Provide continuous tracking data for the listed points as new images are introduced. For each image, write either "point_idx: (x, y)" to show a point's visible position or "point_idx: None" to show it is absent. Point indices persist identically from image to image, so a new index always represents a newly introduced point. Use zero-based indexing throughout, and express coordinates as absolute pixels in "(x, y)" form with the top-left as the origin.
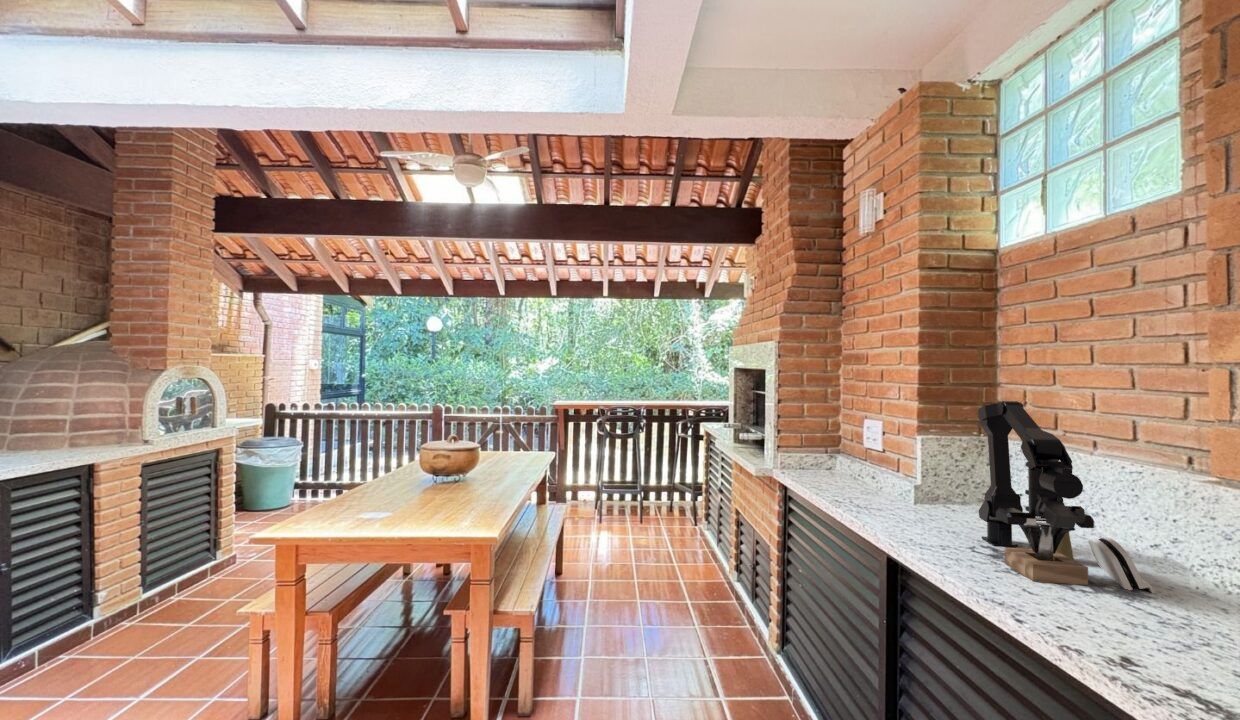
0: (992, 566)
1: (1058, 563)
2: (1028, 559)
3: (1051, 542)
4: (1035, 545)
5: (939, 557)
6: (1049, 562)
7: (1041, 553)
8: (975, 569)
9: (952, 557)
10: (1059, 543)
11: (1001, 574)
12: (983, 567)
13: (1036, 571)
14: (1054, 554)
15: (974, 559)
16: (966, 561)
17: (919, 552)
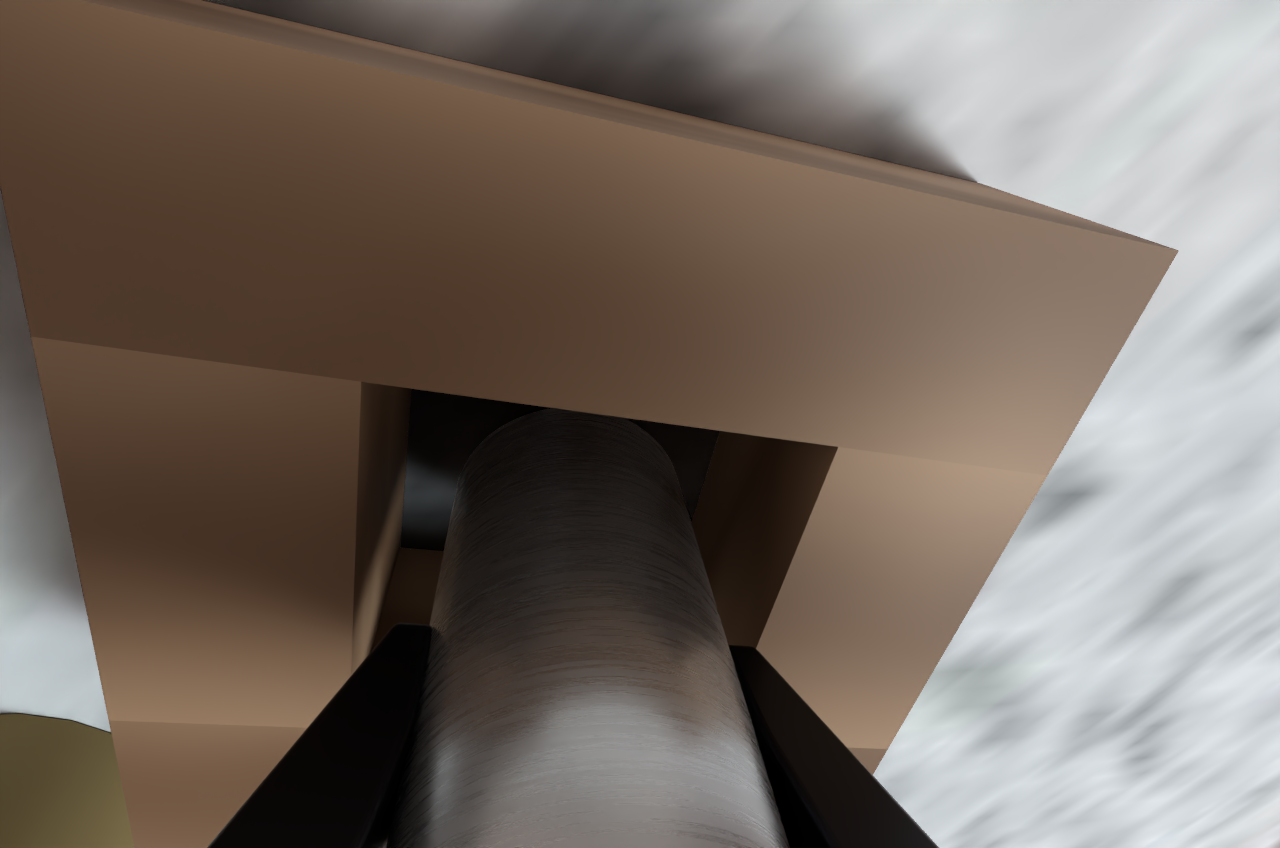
0: (972, 604)
1: (587, 286)
2: (977, 483)
3: (537, 840)
4: (844, 768)
5: (1214, 747)
6: (734, 343)
7: (712, 599)
8: (1229, 528)
9: (1107, 756)
10: (217, 845)
11: (1119, 409)
12: (1091, 577)
13: (1027, 206)
14: (273, 708)
15: (962, 736)
16: (1087, 693)
17: (1246, 814)
